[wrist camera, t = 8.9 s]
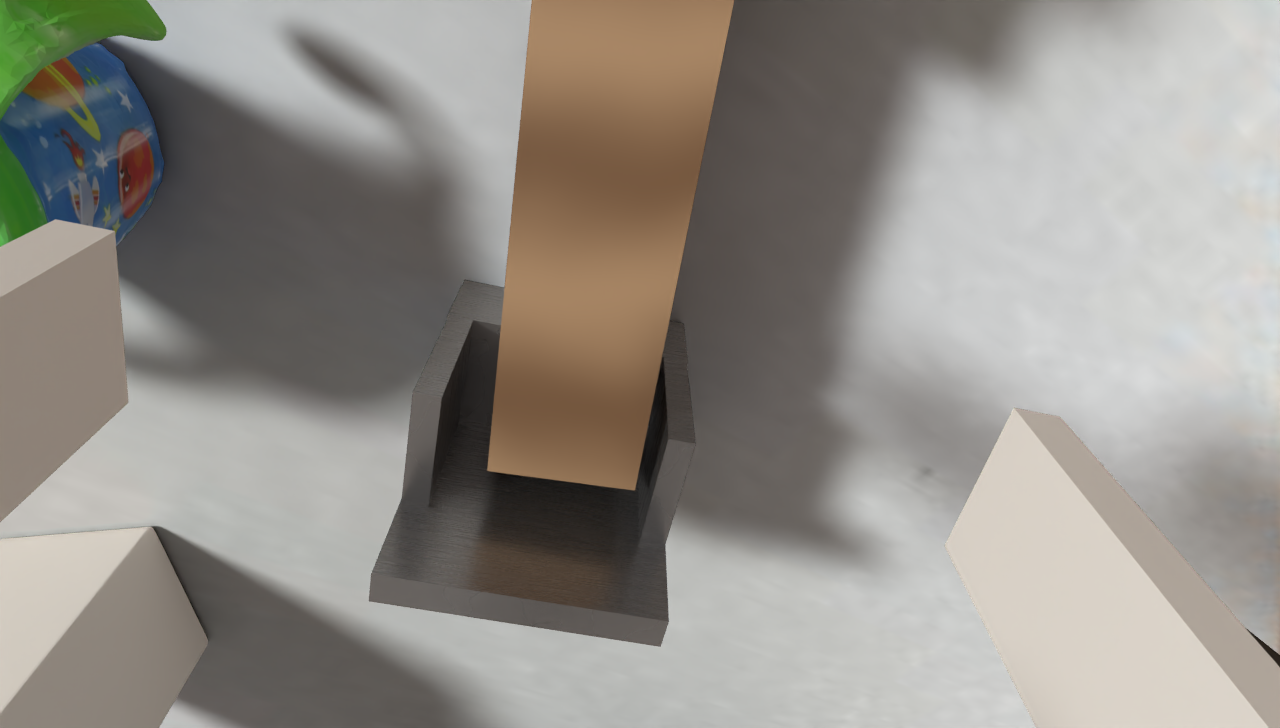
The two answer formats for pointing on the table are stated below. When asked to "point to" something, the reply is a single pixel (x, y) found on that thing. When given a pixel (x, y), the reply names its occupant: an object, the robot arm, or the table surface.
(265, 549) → the table surface
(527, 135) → the rail
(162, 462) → the table surface
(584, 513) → the bracket
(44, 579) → the milk carton
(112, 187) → the snack cup
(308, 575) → the table surface
